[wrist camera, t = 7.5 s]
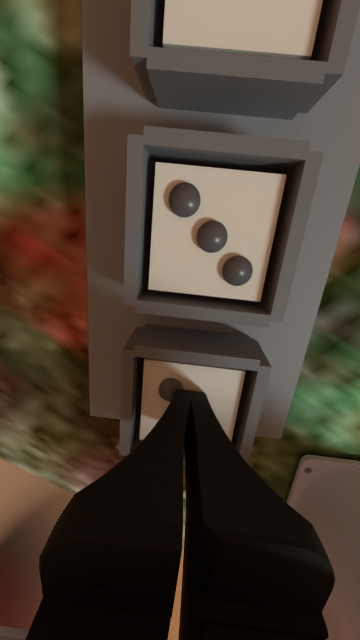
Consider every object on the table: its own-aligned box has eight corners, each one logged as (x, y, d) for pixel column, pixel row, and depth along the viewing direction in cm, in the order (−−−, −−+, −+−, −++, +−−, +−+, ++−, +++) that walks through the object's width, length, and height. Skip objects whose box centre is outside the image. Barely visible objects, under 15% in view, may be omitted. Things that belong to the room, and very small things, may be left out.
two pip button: (225, 424, 14) (229, 454, 12) (146, 414, 14) (138, 442, 13) (239, 352, 13) (246, 373, 11) (151, 342, 13) (143, 361, 11)
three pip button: (251, 291, 12) (261, 302, 10) (155, 280, 12) (147, 290, 10) (272, 183, 10) (288, 173, 8) (162, 172, 10) (154, 160, 9)
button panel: (271, 416, 17) (297, 482, 12) (101, 395, 17) (68, 452, 13) (392, -47, 10) (550, -271, 5) (100, -69, 10) (27, -299, 6)
